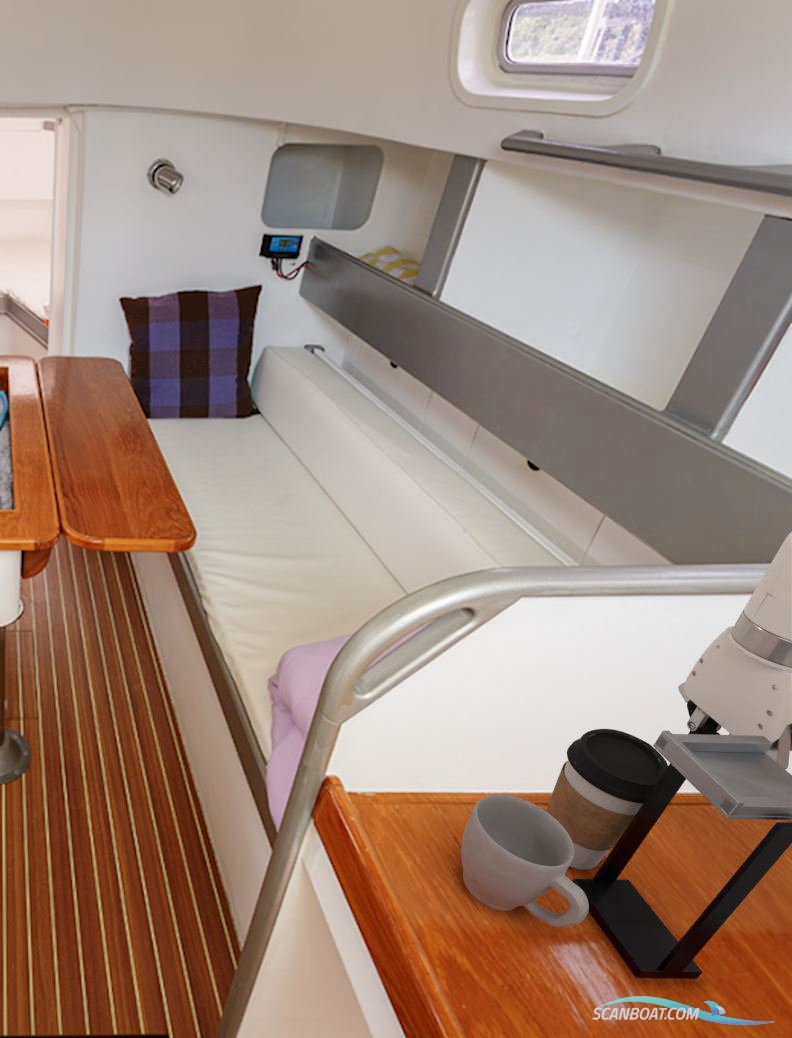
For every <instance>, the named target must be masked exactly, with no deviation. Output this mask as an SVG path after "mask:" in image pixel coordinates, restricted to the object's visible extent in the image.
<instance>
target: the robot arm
mask: <svg viewBox="0 0 792 1038" xmlns="http://www.w3.org/2000/svg"><path fill="white" fill-rule="evenodd" d="M691 668H692V669H691V670H690V671H689V673H688V675H687V677H686V678H685V679H686V680H685V681H684V682H682V683H681V684H679V685H678V686H677V690H678V692H679V693H680V695H681V697H682V699H683V700H684V702H685V703H686V709H687V712H688V717H689V719H688V721H687V722H686V727H687V729H688V730H689V732H688V734H701V735H721V733H719V731H720V730H721V729H722V728H723V729H724V730H725V731H726V732H728V735H746V736H764V737H765V738H767V739H768V740H769V741H770V742H771V743H772V746H771V747H770V748H769V750H768V751H767V752H766V754H767V755H769V756H770V757H771V758H772V759H773V760H774V761H776V762H777V763H778V764H779V765H780V766H782V767H783V768H784V769H785V770H787V769H789V764H790V752H792V531H790V532H789V534H787V536H786V537H785V539H784V540H783V542H782V543H781V546H780V547H779V549H778V551H777V553H775V555H774V557H773V559H772V561H771V563H770V564H769V566H768V568H767V569H766V571H765V573H764V574H763V575H762V578H761V579H760V581H759V583H758V585H757V586H756V588H755V589H754V591H753V593H752V594H751V596H750V598H749V600H748V601H747V602H746V605H745V606H744V608H743V610H742V612H741V613H740V614H739V616H738V618H737V620H736V622H735V623H734V625H732V626H729V627H727V628H726V629H725V630H723V631H722V632H721V633H720V634H719V635H718V636H717V637H716V638H715V639H714V640H713V641H711V643H710V644H709V645H708V647H706V649H705V650H704V652H703V653H702V654H701V655H700V657H699V658H698V660H697V661H696V662H695V663H694V665H693V667H691Z"/></svg>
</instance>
